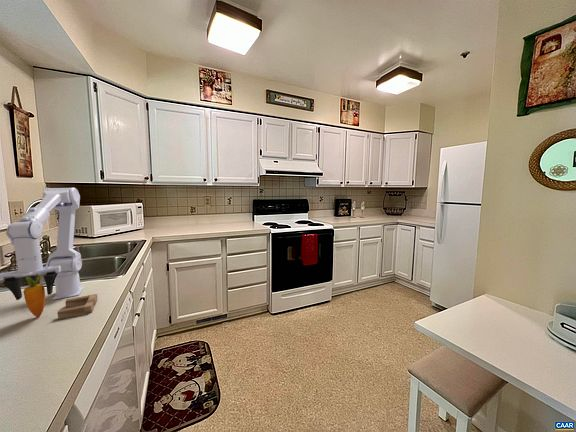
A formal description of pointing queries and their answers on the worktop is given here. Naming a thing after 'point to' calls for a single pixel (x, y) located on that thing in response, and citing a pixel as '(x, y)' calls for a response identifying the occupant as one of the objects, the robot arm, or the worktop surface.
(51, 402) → the worktop surface
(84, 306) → the walnut bracket
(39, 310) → the carrot
